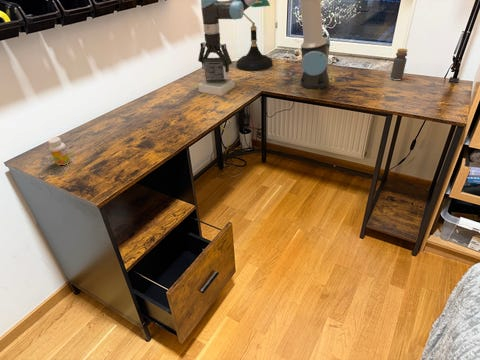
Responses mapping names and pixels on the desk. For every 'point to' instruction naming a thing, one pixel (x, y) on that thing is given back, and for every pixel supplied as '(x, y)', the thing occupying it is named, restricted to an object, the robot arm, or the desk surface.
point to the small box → (214, 69)
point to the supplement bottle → (59, 151)
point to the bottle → (399, 64)
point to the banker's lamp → (255, 49)
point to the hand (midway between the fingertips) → (216, 76)
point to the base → (216, 86)
